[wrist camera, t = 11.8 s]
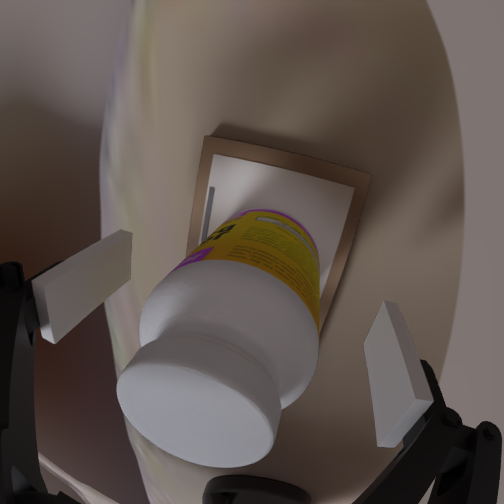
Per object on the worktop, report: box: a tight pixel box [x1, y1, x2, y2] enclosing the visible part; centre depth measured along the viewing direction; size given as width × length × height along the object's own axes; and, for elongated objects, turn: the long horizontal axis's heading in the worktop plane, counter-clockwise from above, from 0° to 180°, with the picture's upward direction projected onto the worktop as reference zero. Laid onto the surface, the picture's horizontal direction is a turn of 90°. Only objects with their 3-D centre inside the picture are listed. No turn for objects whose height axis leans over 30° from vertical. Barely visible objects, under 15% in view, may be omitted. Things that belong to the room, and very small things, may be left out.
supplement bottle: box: [117, 207, 320, 468], centre depth 13 cm, size 7×7×13 cm
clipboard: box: [186, 136, 372, 333], centre depth 20 cm, size 16×10×2 cm, turn 168°
